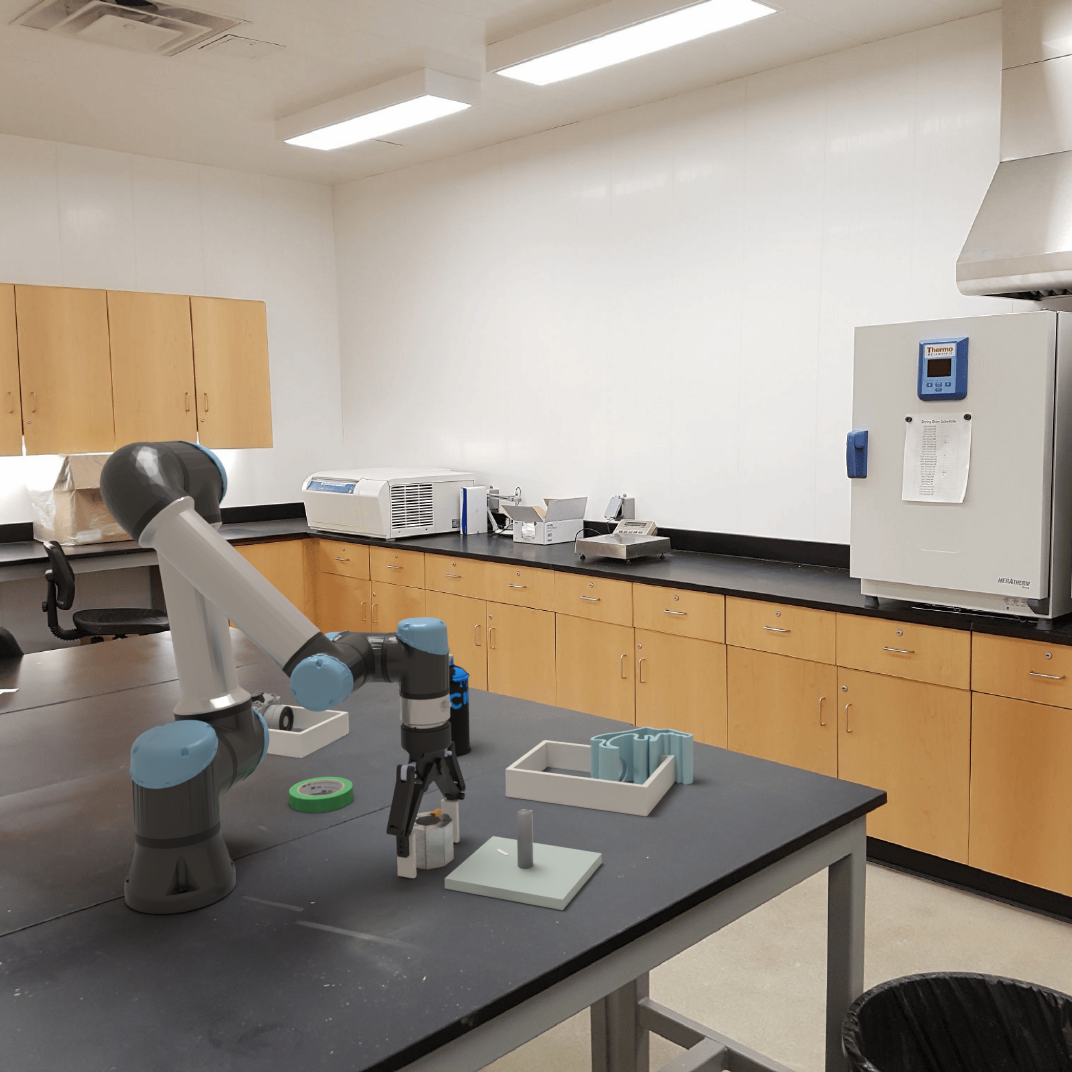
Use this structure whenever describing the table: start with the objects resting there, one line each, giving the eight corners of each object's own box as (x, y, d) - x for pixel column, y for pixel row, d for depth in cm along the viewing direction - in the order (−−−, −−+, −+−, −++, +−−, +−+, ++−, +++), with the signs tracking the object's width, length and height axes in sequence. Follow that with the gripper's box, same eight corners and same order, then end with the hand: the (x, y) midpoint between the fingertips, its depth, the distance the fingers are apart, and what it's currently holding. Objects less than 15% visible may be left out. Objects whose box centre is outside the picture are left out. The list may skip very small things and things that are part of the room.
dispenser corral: (646, 816, 168) (646, 787, 168) (505, 796, 178) (505, 769, 178) (675, 781, 185) (675, 755, 184) (544, 765, 195) (544, 740, 194)
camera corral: (301, 758, 201) (300, 734, 200) (206, 745, 210) (205, 722, 210) (349, 734, 216) (348, 712, 216) (258, 723, 226) (257, 702, 225)
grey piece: (438, 871, 148) (437, 828, 148) (397, 864, 151) (395, 822, 150) (460, 853, 155) (459, 811, 154) (420, 846, 157) (419, 805, 157)
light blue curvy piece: (662, 769, 193) (662, 722, 192) (695, 785, 184) (695, 735, 183) (583, 787, 184) (583, 738, 183) (614, 804, 175) (613, 752, 174)
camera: (269, 751, 206) (267, 704, 205) (230, 749, 208) (227, 702, 207) (303, 729, 221) (301, 685, 220) (265, 727, 223) (263, 683, 222)
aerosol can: (422, 754, 202) (419, 657, 200) (444, 743, 210) (442, 649, 207) (457, 760, 198) (454, 661, 196) (478, 748, 206) (476, 652, 204)
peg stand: (562, 910, 136) (561, 842, 135) (444, 888, 143) (443, 823, 142) (601, 863, 150) (601, 801, 149) (493, 845, 157) (492, 786, 156)
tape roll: (290, 816, 171) (289, 801, 171) (288, 794, 182) (288, 780, 182) (356, 809, 174) (355, 794, 174) (350, 787, 185) (349, 773, 185)
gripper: (405, 748, 138) (409, 896, 140) (484, 702, 161) (487, 830, 163) (358, 742, 141) (363, 888, 143) (442, 698, 163) (446, 824, 166)
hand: (429, 857), depth 153 cm, fingers open, 13 cm apart
